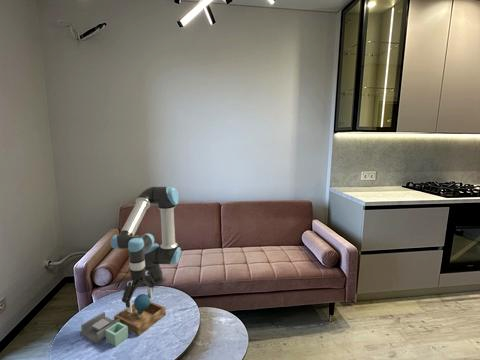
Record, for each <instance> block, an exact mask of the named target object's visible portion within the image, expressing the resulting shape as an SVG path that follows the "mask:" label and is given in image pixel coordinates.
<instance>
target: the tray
mask: <svg viewBox="0 0 480 360" xmlns="http://www.w3.org/2000/svg"><path fill="white" fill-rule="evenodd" d="M166 315H167V313H166V307H165V306H162V305H160V304H158V303H155V302H153V301H150V304H149V306H148V308H147V309H145V310H144V311H143V313H142V314H141V318H138V312H137V310H136V309H135V307H134V303H132V313H130V312H128V311H127V307H125V309H122V310H121V311H119V312H118V313H116V314H114V315H113V321H116V320H117V319H120V323H122V324H124V325H126V326H128V330H129V331H128V332H130V331H131V333H132V332H133V333H132V334H134V333H135V334H134V335H137V336H141V335H142V334H143V333H144V332H146V331H147V330H149V329H150V328H151V327H152V326H154V325H155V324H156V323H158V322H159V321H160V320H162V318H164V317H165V316H166Z"/></svg>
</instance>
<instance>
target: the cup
mask: <svg viewBox="0 0 480 360" xmlns="http://www.w3.org/2000/svg"><path fill="white" fill-rule="evenodd" d="M105 333H106V340H105V342H107V343H109V344H110V345H112V346H114V347H115V348H116V347H118V346H119V345H120V344H121V343H123V342H124V341H126V340H127V339H128V338H129V331H128V326H126V325H124V324H122V323H120V322H117V323H115V324H114V325H112V326H111V327H109V328H108V329H106V330H105Z"/></svg>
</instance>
